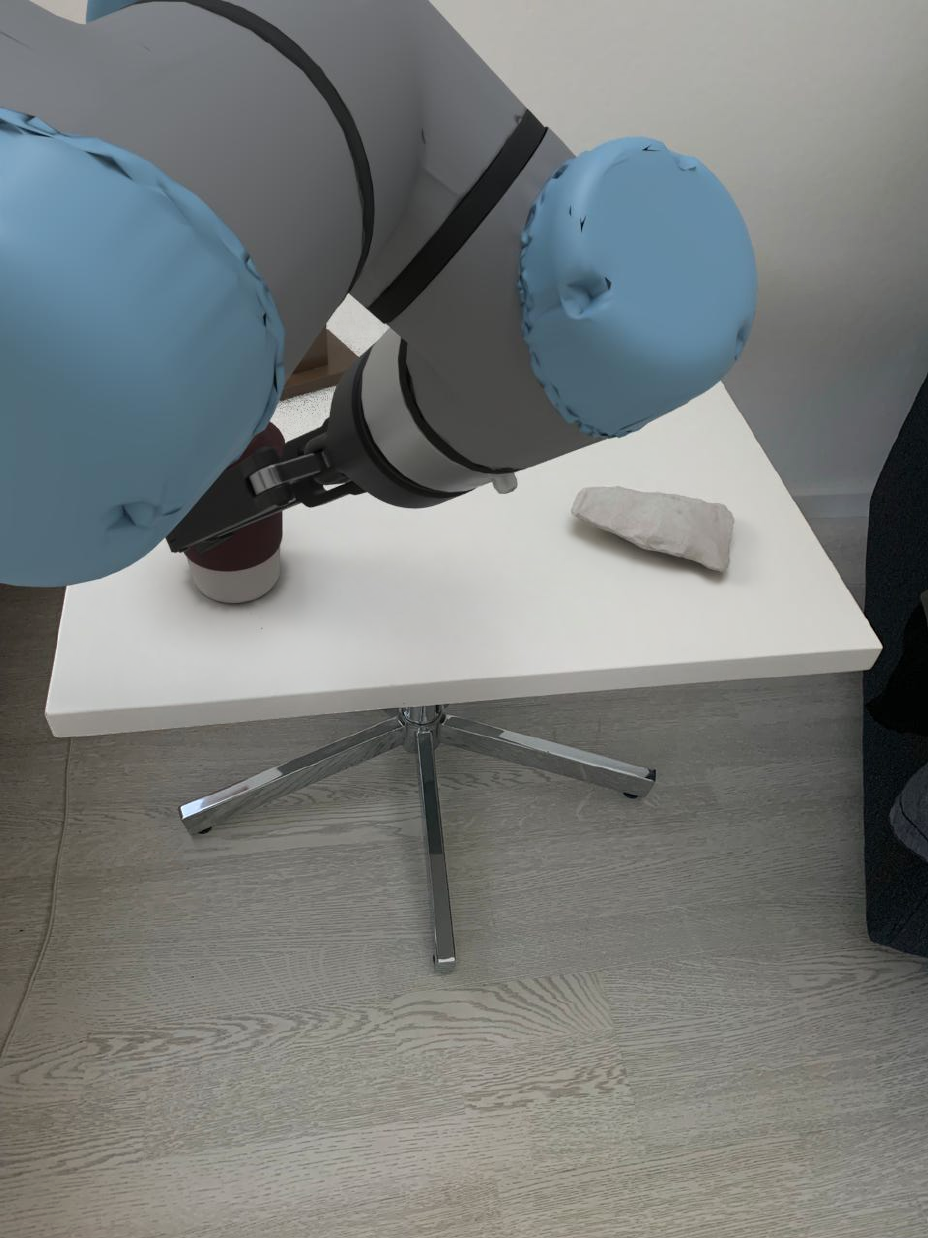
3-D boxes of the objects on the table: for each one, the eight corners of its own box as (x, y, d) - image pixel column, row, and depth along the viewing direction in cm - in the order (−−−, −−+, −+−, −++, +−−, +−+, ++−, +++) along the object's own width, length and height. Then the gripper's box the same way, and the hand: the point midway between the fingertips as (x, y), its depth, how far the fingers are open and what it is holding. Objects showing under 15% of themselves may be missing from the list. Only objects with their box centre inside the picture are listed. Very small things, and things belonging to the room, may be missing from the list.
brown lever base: (269, 403, 95) (257, 278, 85) (232, 364, 100) (217, 241, 90) (367, 375, 101) (366, 254, 91) (328, 339, 105) (323, 220, 96)
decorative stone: (740, 551, 77) (569, 516, 79) (726, 586, 81) (561, 552, 82) (742, 483, 84) (584, 452, 86) (729, 518, 87) (576, 487, 89)
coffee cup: (201, 530, 81) (174, 382, 70) (309, 546, 80) (299, 400, 69) (159, 607, 74) (123, 456, 63) (278, 625, 73) (261, 476, 63)
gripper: (195, 594, 33) (127, 623, 52) (678, 414, 44) (476, 491, 63) (114, 399, 32) (75, 500, 51) (627, 264, 43) (438, 389, 62)
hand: (296, 496), depth 57 cm, fingers open, 13 cm apart
